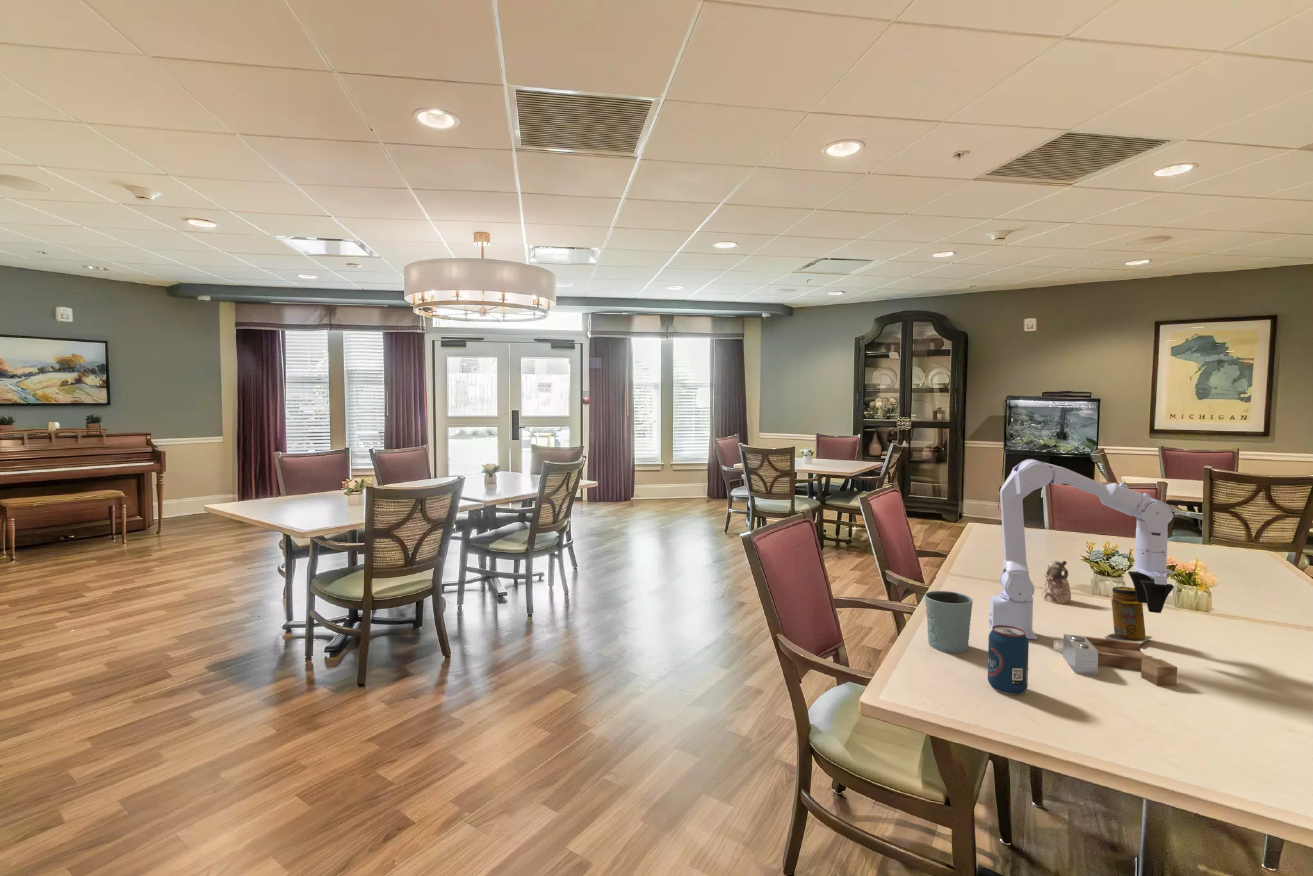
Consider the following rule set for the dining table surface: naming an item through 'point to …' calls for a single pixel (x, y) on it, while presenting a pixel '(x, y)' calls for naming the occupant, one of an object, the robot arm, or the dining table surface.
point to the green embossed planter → (948, 620)
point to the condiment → (1127, 616)
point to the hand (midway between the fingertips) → (1148, 607)
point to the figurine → (1056, 584)
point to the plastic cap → (1058, 646)
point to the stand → (1118, 653)
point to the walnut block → (1159, 672)
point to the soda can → (1008, 660)
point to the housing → (1080, 655)
